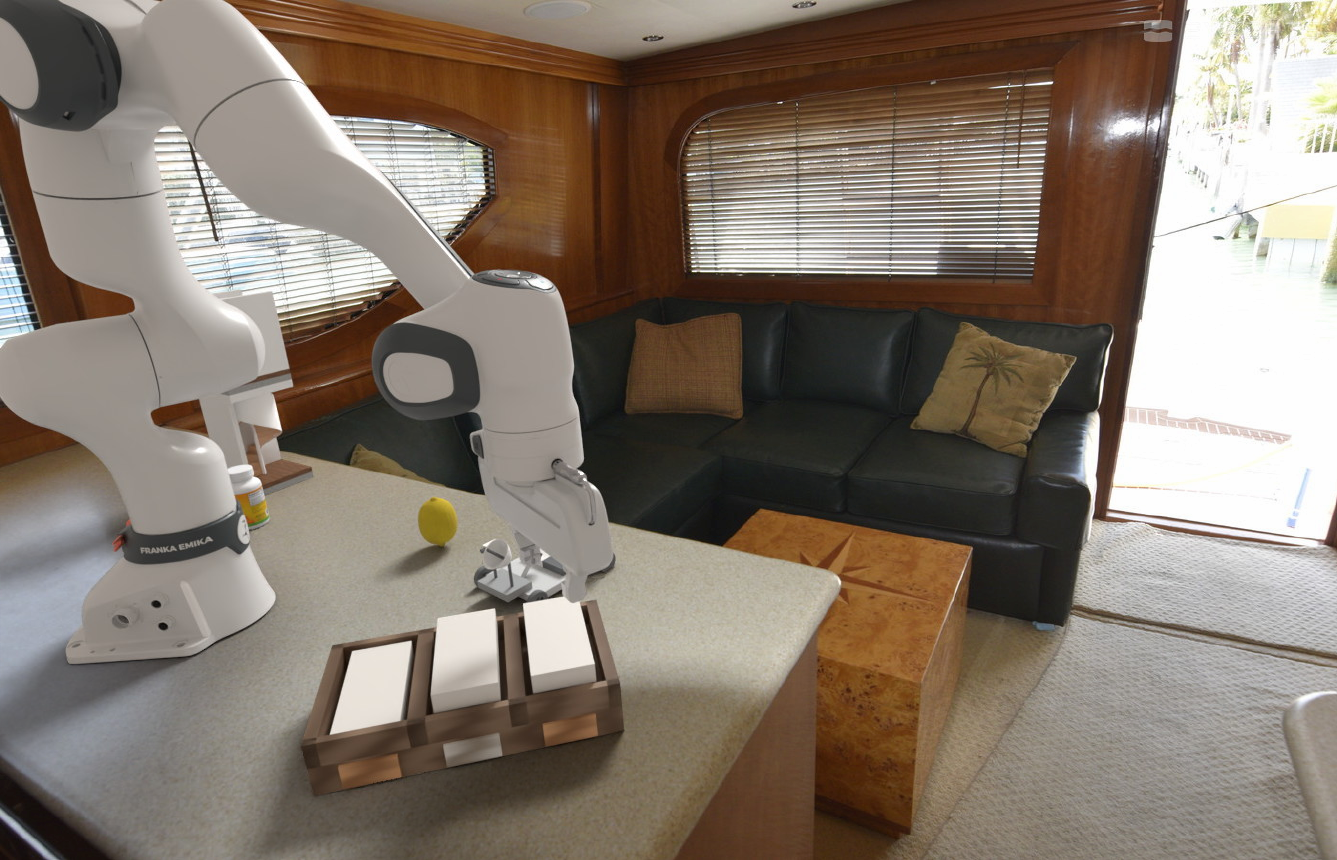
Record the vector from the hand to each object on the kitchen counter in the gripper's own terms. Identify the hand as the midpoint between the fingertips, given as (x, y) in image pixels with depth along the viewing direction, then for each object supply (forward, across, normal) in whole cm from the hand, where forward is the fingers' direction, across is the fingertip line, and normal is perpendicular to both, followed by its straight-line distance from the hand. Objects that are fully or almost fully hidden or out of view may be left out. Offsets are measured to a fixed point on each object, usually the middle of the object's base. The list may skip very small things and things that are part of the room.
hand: (551, 579), depth 74 cm
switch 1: (+10, +7, +17) cm, 21 cm away
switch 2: (+8, +4, +8) cm, 12 cm away
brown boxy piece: (+13, +4, +8) cm, 16 cm away
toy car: (+14, +23, -8) cm, 28 cm away
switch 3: (+8, +1, 0) cm, 8 cm away
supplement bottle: (+13, +71, +20) cm, 75 cm away
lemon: (+13, +42, -2) cm, 44 cm away
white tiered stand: (+12, +90, +15) cm, 92 cm away
